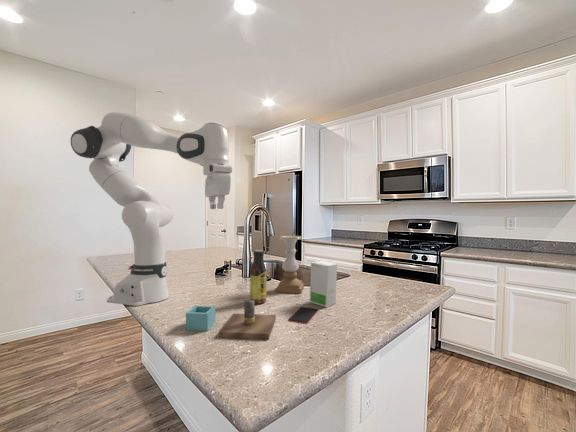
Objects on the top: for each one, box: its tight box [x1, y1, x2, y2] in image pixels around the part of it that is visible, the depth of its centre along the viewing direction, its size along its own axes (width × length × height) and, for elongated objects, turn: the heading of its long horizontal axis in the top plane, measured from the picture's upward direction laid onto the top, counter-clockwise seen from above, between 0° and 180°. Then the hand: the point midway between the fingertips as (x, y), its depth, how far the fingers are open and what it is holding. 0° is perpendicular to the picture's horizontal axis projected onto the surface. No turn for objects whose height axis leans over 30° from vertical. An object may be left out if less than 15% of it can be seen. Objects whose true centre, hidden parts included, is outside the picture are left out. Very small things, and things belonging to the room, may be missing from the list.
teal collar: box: [185, 305, 216, 332], centre depth 86 cm, size 7×7×5 cm
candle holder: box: [275, 235, 305, 295], centre depth 125 cm, size 11×11×24 cm
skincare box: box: [309, 260, 338, 308], centre depth 107 cm, size 8×7×16 cm
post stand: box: [218, 299, 277, 340], centre depth 84 cm, size 14×14×8 cm
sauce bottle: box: [249, 249, 268, 305], centre depth 108 cm, size 6×6×20 cm
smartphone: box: [287, 306, 319, 325], centre depth 95 cm, size 7×1×14 cm
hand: (216, 209), depth 99 cm, fingers open, 8 cm apart
